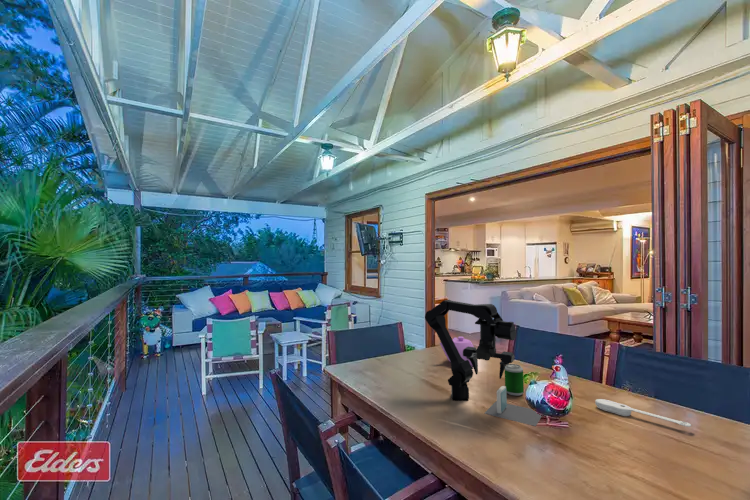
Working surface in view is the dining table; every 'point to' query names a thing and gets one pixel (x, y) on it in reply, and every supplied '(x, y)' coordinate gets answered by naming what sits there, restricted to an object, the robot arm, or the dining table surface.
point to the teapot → (460, 347)
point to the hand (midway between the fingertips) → (488, 376)
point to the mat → (516, 414)
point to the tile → (501, 399)
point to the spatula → (629, 410)
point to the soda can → (514, 379)
